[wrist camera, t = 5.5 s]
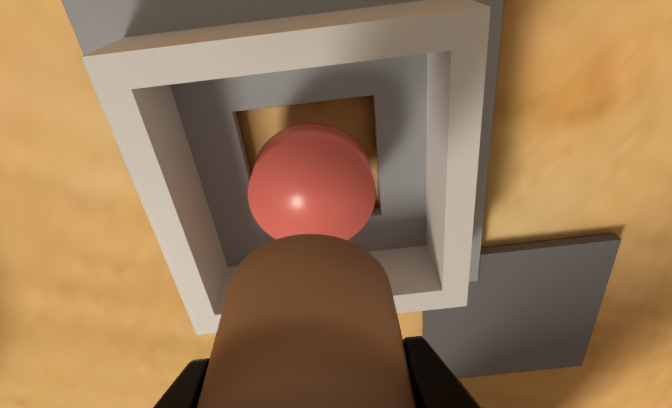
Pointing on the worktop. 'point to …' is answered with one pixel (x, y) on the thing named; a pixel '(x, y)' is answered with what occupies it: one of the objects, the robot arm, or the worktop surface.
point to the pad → (525, 307)
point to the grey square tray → (297, 88)
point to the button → (311, 183)
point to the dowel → (308, 331)
